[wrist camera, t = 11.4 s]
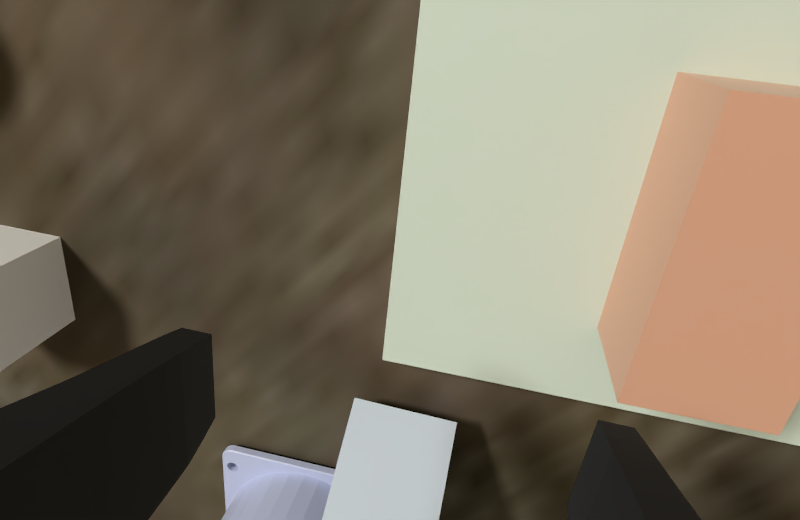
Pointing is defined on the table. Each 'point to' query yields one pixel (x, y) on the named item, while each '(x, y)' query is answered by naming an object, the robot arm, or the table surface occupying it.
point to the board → (547, 174)
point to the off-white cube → (31, 291)
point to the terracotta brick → (713, 260)
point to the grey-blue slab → (390, 465)
